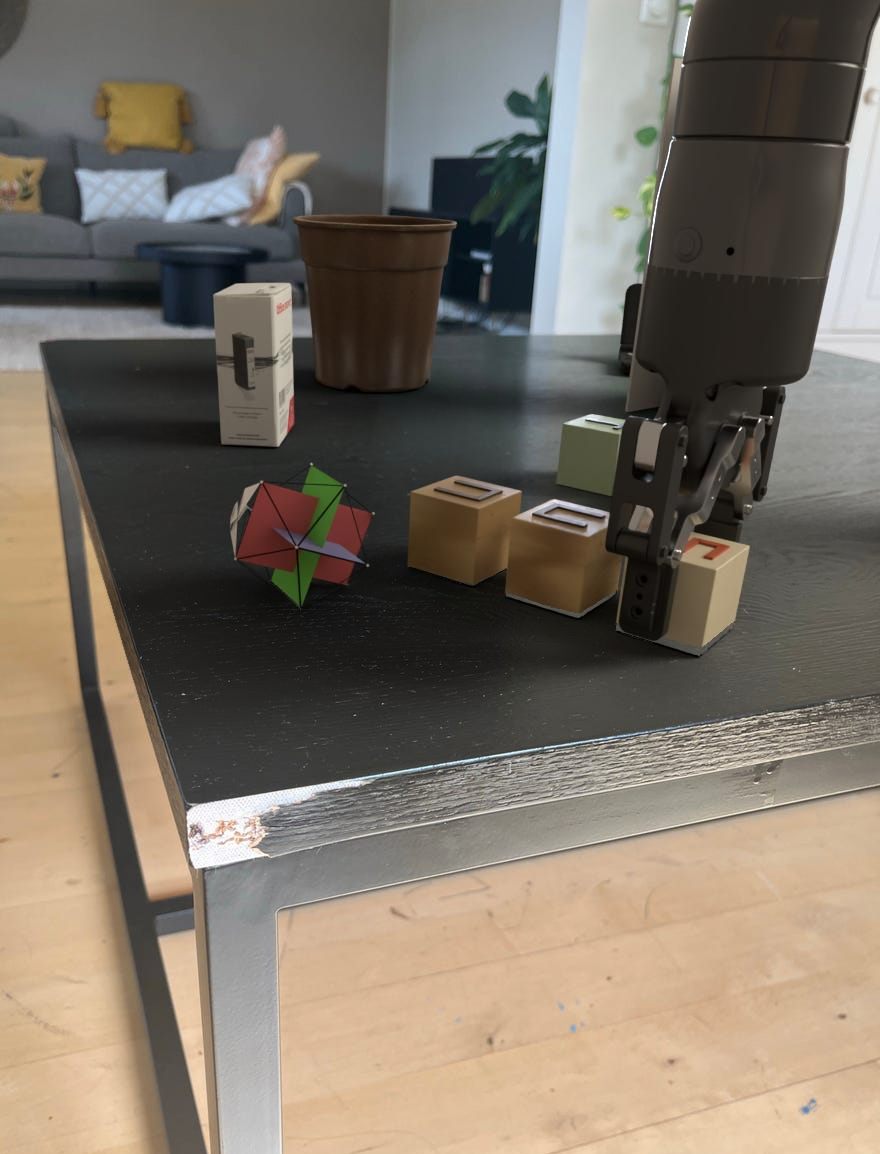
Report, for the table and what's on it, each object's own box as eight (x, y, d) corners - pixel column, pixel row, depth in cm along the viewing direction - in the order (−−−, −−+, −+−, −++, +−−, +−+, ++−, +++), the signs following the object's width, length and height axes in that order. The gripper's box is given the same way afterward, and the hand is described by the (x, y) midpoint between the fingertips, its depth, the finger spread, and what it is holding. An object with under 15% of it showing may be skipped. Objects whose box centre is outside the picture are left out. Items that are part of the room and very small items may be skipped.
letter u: (503, 597, 53) (511, 515, 51) (545, 574, 56) (553, 496, 54) (578, 620, 50) (589, 534, 49) (617, 595, 54) (629, 514, 52)
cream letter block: (614, 631, 49) (626, 544, 47) (651, 604, 53) (664, 522, 51) (700, 658, 47) (717, 567, 45) (733, 628, 50) (751, 543, 48)
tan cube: (406, 567, 56) (410, 489, 54) (451, 547, 60) (456, 472, 58) (472, 587, 54) (478, 506, 52) (515, 565, 57) (522, 488, 55)
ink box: (239, 421, 87) (235, 279, 82) (295, 424, 87) (294, 282, 82) (217, 445, 79) (211, 290, 74) (279, 448, 79) (276, 293, 74)
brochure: (709, 396, 105) (764, 73, 92) (755, 406, 101) (819, 70, 88) (625, 411, 97) (672, 57, 84) (671, 422, 93) (728, 54, 80)
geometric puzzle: (367, 522, 57) (287, 417, 52) (426, 561, 51) (343, 448, 46) (275, 607, 56) (185, 509, 51) (325, 656, 50) (230, 552, 46)
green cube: (555, 484, 73) (562, 421, 71) (584, 471, 76) (591, 412, 74) (611, 496, 70) (619, 432, 68) (638, 483, 74) (647, 422, 72)
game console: (618, 375, 114) (629, 293, 110) (616, 357, 126) (626, 282, 122) (757, 385, 112) (773, 301, 108) (741, 365, 124) (755, 289, 120)
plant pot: (349, 404, 95) (352, 222, 88) (266, 375, 106) (263, 212, 99) (478, 389, 104) (490, 223, 97) (389, 364, 115) (394, 214, 108)
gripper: (769, 277, 35) (692, 682, 42) (871, 262, 46) (796, 589, 53) (581, 259, 39) (539, 632, 46) (715, 249, 50) (664, 555, 57)
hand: (676, 608), depth 49 cm, fingers open, 7 cm apart
